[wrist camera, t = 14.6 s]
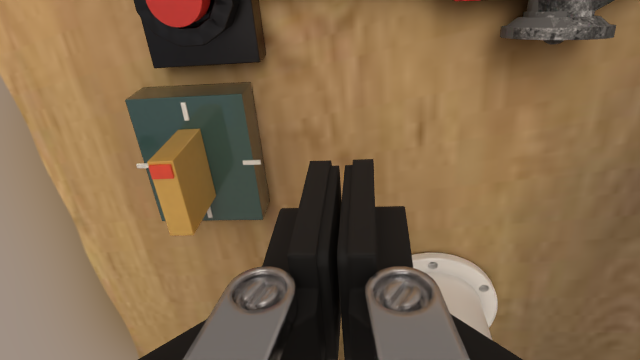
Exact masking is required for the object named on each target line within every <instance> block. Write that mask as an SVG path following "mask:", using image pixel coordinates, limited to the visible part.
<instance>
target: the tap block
mask: <svg viewBox="0 0 640 360" xmlns="http://www.w3.org/2000/svg"><path fill="white" fill-rule="evenodd" d="M125 101H126V105H127V108H128V111H129V114H130V118H131V121H132V124H133V127H134V131H135V134H136V137H137V140H138V144H139V147H140V150H141V154H142V157H143V160H144V163H137V164H136V165H137V168H146V170H147V173H148V176H149V180H150V183H151V186H152V190H153V193H154V196H155V199H156V203H157V206H158V209H159V212H160V216H161V219H162V221H166V220H165V217H164V214H163V211H162V208H161V205H160V201H159V198H158V195H157V192H156V189H155V186H154V183H153V179H152V177H151V174H150V171H149V167H148V164H147V162H148V161H149V160H150V159H151V157H152V156H153V155H154V154H155V153H156V152H157V151H158V150H159V149H160V148H161V147H162V146H163V145H164V144H165V143H166V142H167V141H168V140H169V139H170V138H171V137H172V135H173V134H174V133H175V132H176V131H177V130H182V129H200V131H201V135H202V139H203V143H204V147H205V151H206V155H207V160H208V164H209V168H210V172H211V176H212V180H213V185H214V189H215V193H216V197H215V199H214V200H213V202H212V204H211V206H210V207H209V209H208V211H207V213H206V214H205V216H204V218H203V220H263V218H264V215H265V213H266V210H267V207H268V204H269V202H270V200H269V193H268V187H267V181H266V174H265V168H264V162H263V155H262V149H261V143H260V137H259V130H258V124H257V118H256V111H255V105H254V99H253V93H252V86H251V82H242V83H223V84H204V85H185V86H166V87H147V88H142V89H140V90H139V91H137V92H136V93H134V94H133V95H132V96H130V97H129V98H127V99H126V100H125ZM203 220H202V221H203Z"/></svg>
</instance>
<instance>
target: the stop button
mask: <svg viewBox="0 0 640 360" xmlns="http://www.w3.org/2000/svg"><path fill="white" fill-rule="evenodd" d="M146 3H147V5H148V7H149V9H150V11H151V12H152V14H153V15H154V16H155V17H156V18H157V19H158V20H159V21H161V22H162V23H164V24H166V25H168V26H171V27H185V26H188V25H190V24H192V23H194V22H196V21H198V20H199V19H201V18H202V17H203V16H204V15H205V14H206V12H207V11H208V8H209V5H210V0H146Z"/></svg>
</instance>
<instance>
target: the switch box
mask: <svg viewBox="0 0 640 360" xmlns="http://www.w3.org/2000/svg"><path fill="white" fill-rule="evenodd" d="M134 3H135V7H136V11H137V13H138V14H139V15H140V17H141V20H142V24H143V28H144V31H145V35H146V39H147V43H148V47H149V50H150V54H151V58H152V62H153V66H154V68H166V67H183V66H201V65H218V64H235V63H252V62H260V61H261V60H262V59H263V58H264V56H265V55H266V51H265V44H264V37H263V29H262V22H261V15H260V7H259V0H210V5H209V8H208V11H207V12H206V14H205V15H204V16H203V17H202V18H201V19H199V20H198V21H196V22H194V23H192V24H190V25H188V26H185V27H171V26H168V25H166V24H164V23H162V22H161V21H159V20H158V19H157V18H156V17H155V16H154V15H153V14H152V12H151V11H150V9H149V7H148V5H147V3H146V0H134Z"/></svg>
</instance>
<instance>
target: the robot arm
mask: <svg viewBox="0 0 640 360" xmlns="http://www.w3.org/2000/svg"><path fill="white" fill-rule="evenodd" d="M497 304H498V300H497V296H496V292H495V289H494V287H493V284H492V282H491V280H490V279H489V277H488V276H487V275H486V273H485V272H484V271H483V270H481V269H480V268H479V267H478V266H477V265H475V264H473V263H472V262H470V261H468V260H466V259H464V258H461V257H458V256H455V255H450V254H445V253H429V252H428V253H420V254H414V255H411V248H410V240H409V233H408V226H407V219H406V212H405V207H404V206H395V207H375V196H374V163H373V159H365V160H353V165H345V171H344V182H343V193H342V200H341V185H340V170H339V166H332V163H331V161H310V164H309V168H308V172H307V176H306V180H305V184H304V189H303V193H302V197H301V201H300V205H299V208H282V209H281V210H280V212H279V215H278V218H277V221H276V224H275V227H274V231H273V234H272V237H271V240H270V244H269V247H268V250H267V253H266V256H265V260H264V263H263V266H262V267H257V268H253V269H250V270H247V271H245V272H243V273H241V274H239V275H238V276H237V277H235V278H234V279H233V280H232V281H231V282H230V283H229V285H228V286H227V287H226V289H225V291H224V292H223V294H222V296H221V297H220V299H219V301H218V302H217V304H216V306H215V307H214V309H213V311H212V312H211V314H210V315H209V317H208V319H206V320H205V321H203V322H201V323H200V324H198V325H196V326H194V327H193V328H191V329H189V330H188V331H186V332H184V333H183V334H181V335H179V336H177V337H176V338H174V339H172V340H171V341H169V342H167V343H166V344H164V345H162V346H160V347H159V348H157V349H155V350H154V351H152V352H150V353H149V354H147V355H145V356H143V357H142V358H140V359H138V360H338V351H339V336H340V321H341V318H342V331H343V344H344V357H345V360H522V359H521V358H519V357H518V356H516V355H514V354H513V353H511V352H510V351H508V350H507V349H505V348H503V347H502V346H500V345H499V344H497V343H496V342H494V341H493V340H492V337H491V334H490V331H489V327H490V326H491V324H492V322H493V321H494V319H495V316H496V312H497Z"/></svg>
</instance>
